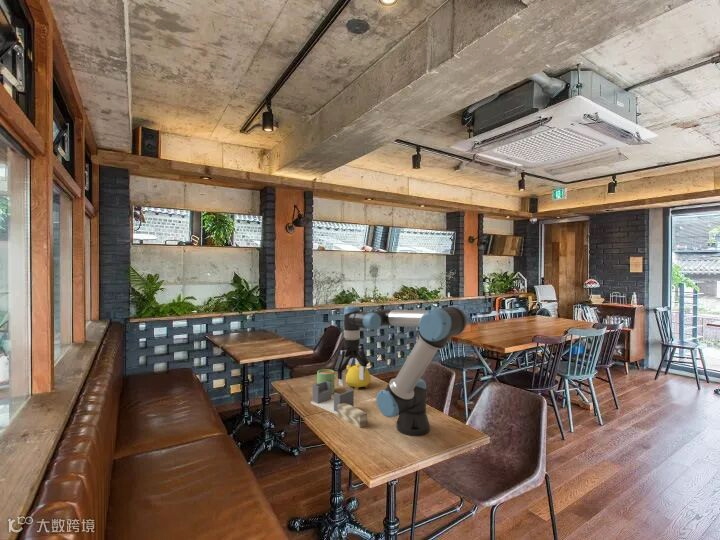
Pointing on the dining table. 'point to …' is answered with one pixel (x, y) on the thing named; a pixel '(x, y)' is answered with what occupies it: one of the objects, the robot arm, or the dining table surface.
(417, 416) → the robot arm
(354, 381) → the teapot
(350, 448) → the dining table surface
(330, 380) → the mug
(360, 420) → the rail
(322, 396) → the bracket board
